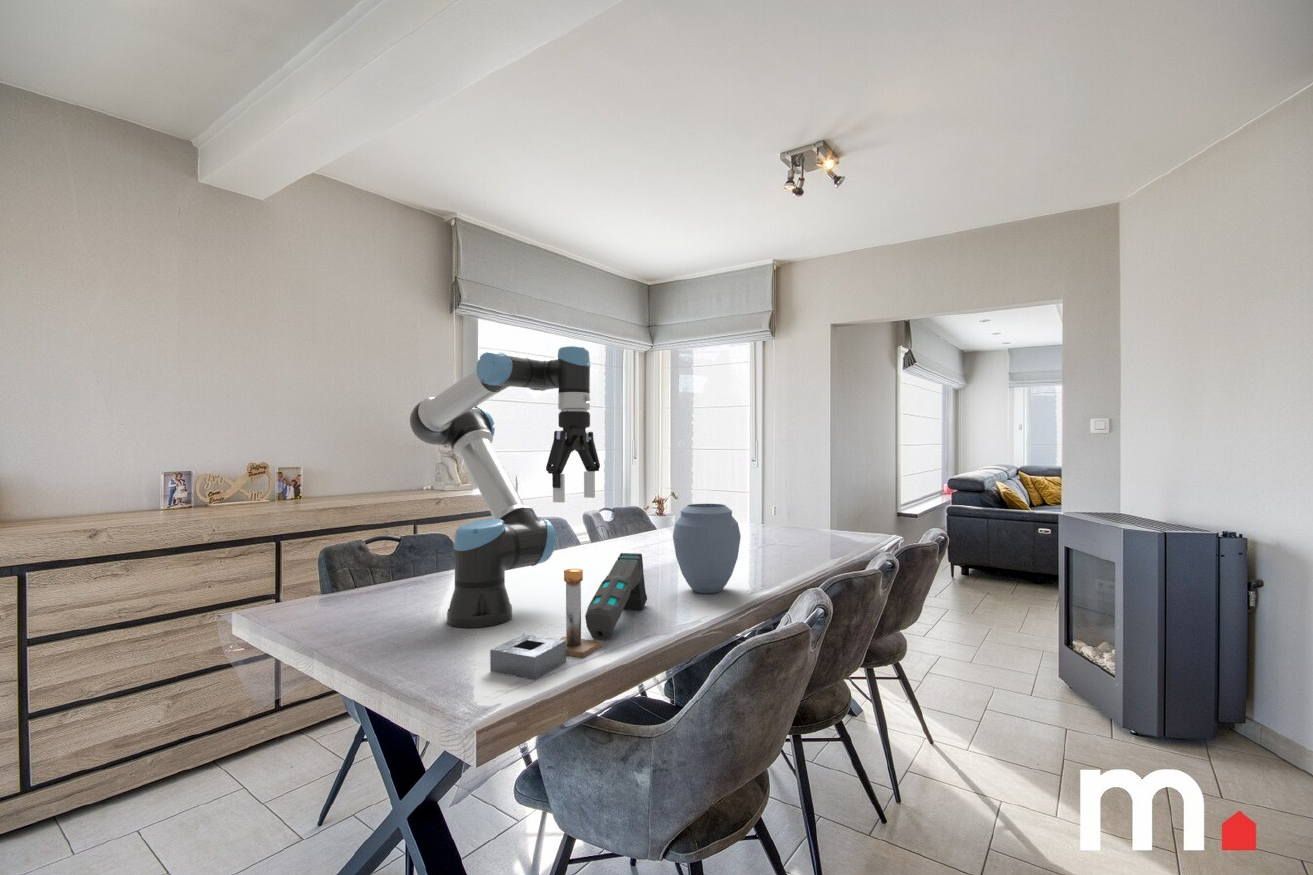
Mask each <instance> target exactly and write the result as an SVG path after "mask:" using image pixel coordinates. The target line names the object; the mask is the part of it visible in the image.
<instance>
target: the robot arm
mask: <svg viewBox="0 0 1313 875" xmlns="http://www.w3.org/2000/svg"><path fill="white" fill-rule="evenodd" d="M590 360H591V359H590V351H589V349H588V348H586V347H585V346H579V345H564V346H561V347H560V348H559V349H558V351H557V357H554V358H539V357H533V356H532V357H531V356H527V355H525V356H524V355H517V354H510V353H505V352H501V351H499V352H498V351H494V352H493V351H487V352H483V353H482V354H481V355H480V357H479V359H478V360H477V362H476V367H475V370H473V371H472V372H470V373H468V374H466V376H464V377H462V378H461V379H460V380H458V381H457V382H455V383H454V384H452V385H451V386H449V387H448V388H446V389H445V390H443V391H442V392H440V393H439V394H437V395H436V396H430V397H426V398H424V399H423V400H421V401H420V402H419V403H417V405H415V406H414V407H413V409H412V411H411V412H410V416H409V425H410V428H411V431H412V433H413V435H415V437H417V438H418V439H419V440H420V441H421V442H424V443H426V444H429V445H433V446H434V445H436V446H437V445H438V446H440V445H441V446H450V448H451V450H452V452H453V453H454V455H455V456H457V457H459V458H462V459H463V460H464V461H463V462H464V463H465V465H466V466H467V468H468V471H469V473H470V474H471V477H472V479H473V481H474V483H475V485H476V486H477V488H478V490H479V493H480V494H481V497H482V498H483V500H484V502H485V504H486V507H487V509H488V510H489V512H490V514H491V516H492V518H487V519H479V520H475V521H470V522H467V523H463V524H461V525H460V526H459V527H458V528H457V529H456V530H455V532H454V543H453V549H454V590H453V593H452V597H451V600H450V604H449V606H448V607H449V608H448V609H447V611H446V623H447V624H448V625H450V626H452V627H457V628H466V629H467V628H469V629H470V628H473V629H474V628H483V627H491V626H495V625H500V624H503V623H505V622H507V621H510V620H511V619H512V617H513V606H512V604H511V602H510V598H509V595H508V590H507V589H506V581H505V580H506V578H505V577H506V571H510V570H515V569H522V568H527V567H535V566H537V565H538V564H543V563H545V562H547V561H549V559H550V558H551V557H552V555H553V553H554V551H555V548H556V540H557V539H556V532H555V527H554V525H553V524H552V522H551V521H549V520H548V519H545V518H538V516H537V514H536V512H535V510H534V508H533V507H530V506H526V505H524V503H523V501H522V498H521V497H520V495H519V493H518V491H517V489H516V488H515V486H514V484H513V482H512V480H511V479H510V476H509V475H508V473H507V471H506V469H505V467H504V466H503V464H502V462H501V460H500V458H499V456H498V454H497V452H496V451H495V449H494V447H493V445H492V443H493V441H494V435H495V428H496V427H494V425H495V422H494V418H493V416H492V414H491V413H490V412H489V410H488V409H486V408H485V407H483V406H479V405H481V404H483V403H484V402H485V401H487V400H489V399H490V398H492V397H494V396H495V395H497V394H498V393H500V392H502V391H504V390H505V389H507V388H509V387H513V388H516V387H517V388H525V389H530V390H532V391H541V392H543V391H544V392H545V391H547V390H553V389H554V390H555V389H558V390H557V391H558V398H557V403H558V404H557V406H558V407H557V409H558V410H559V413H558V427H559V428H562V430H555V431H554V434H553V441H552V444H551V449H550V451H549V456H548V458H547V463H546V466H545V470H546V471H547V474H549V475H551V474H552V479H551V481H552V482H551V483H552V503H565V502H566V499H565V497H566V496H565V494H566V492H565V488H566V487H565V485H566V484H565V483H566V481H565V479H566V477H565V473H563V472H564V470H565V467H566V464H567V463H568V461H569V458H570V456H571V453H572V452H574V451H576V452H577V453H578V456H579V458H580V459H581V462H582V464H583V466H584V469H585V470H586V471H583V498H585V499H587V498H589V499H590V498H592V499H593V498H596V472H599V470H600V467H601V464H600V459H599V455H598V453H597V452H598V451H597V448H596V445H595V440H594V439H595V438H594V432H593V431H586V429H587V428H589V427H591V413H590V412H589V411H590V409H591V404H590V402H591V397H590V396H591V395H590V393H591V391H590V390H591V388H590V387H591V386H590V385H591V378H590V377H591V370H590V369H591V362H590Z"/></svg>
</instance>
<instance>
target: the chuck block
mask: <svg viewBox="0 0 1313 875" xmlns="http://www.w3.org/2000/svg"><path fill="white" fill-rule="evenodd" d="M489 651H490V652H489V654H490V661H489V662H490V666H489V668H490V669H489V670H490V672H491V673H496V674H501V675H502V674H503V675H507V676H513V677H517V678H523V679H528V680H534V681H536V680H538V679H539V678H541V677H543V676H544V675H546V674H547V673H549V672H550V671H553V670H554V669H555V668H557V667H559V666H561V665H562V664H564V663H566V662H567V655H566V640H560V638H559V639H558V638H552V637H545V636H537V635H532V634H525V633H523V634H521V635H519V636H517V637H515V638H512V639H510V640H508V641H507V642H504V643H501V644H500V645H497V646H495V647H493V648H491V649H490V650H489Z"/></svg>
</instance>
